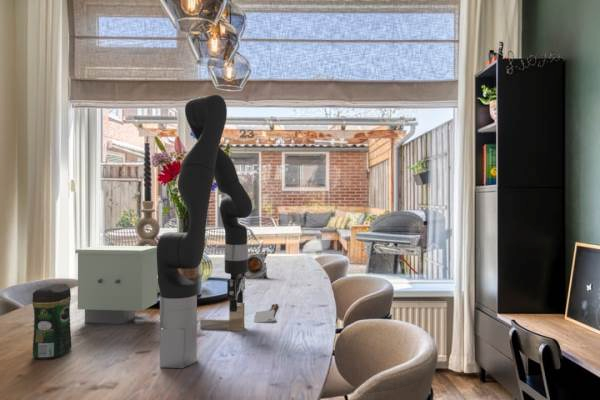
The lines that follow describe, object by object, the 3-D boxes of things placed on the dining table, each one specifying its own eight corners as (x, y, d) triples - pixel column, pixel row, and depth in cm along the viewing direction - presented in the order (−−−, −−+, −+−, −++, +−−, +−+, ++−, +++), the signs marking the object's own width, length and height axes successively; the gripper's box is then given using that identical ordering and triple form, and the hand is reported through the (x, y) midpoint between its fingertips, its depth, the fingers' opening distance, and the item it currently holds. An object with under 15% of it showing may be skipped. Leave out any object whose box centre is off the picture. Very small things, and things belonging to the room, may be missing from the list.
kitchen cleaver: (258, 304, 176) (283, 303, 175) (258, 307, 176) (283, 306, 175) (246, 322, 152) (275, 321, 151) (246, 325, 152) (275, 324, 151)
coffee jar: (47, 348, 126) (47, 281, 126) (75, 348, 125) (75, 282, 125) (26, 360, 116) (26, 288, 116) (56, 360, 116) (56, 289, 116)
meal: (268, 277, 240) (268, 252, 240) (266, 278, 236) (266, 253, 236) (240, 276, 242) (240, 252, 242) (238, 277, 238) (238, 253, 238)
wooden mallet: (241, 331, 142) (241, 305, 142) (198, 329, 143) (198, 304, 143) (244, 327, 146) (244, 303, 146) (202, 326, 147) (202, 301, 147)
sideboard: (141, 328, 144) (142, 250, 144) (74, 326, 146) (74, 249, 146) (159, 317, 158) (159, 246, 158) (97, 316, 160) (97, 245, 160)
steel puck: (145, 324, 150) (145, 318, 150) (130, 324, 150) (130, 318, 150) (151, 320, 155) (151, 314, 155) (137, 320, 155) (137, 314, 155)
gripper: (243, 261, 137) (243, 314, 137) (252, 254, 151) (252, 302, 151) (218, 261, 138) (219, 313, 138) (230, 254, 152) (230, 302, 152)
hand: (236, 307), depth 145 cm, fingers open, 8 cm apart
